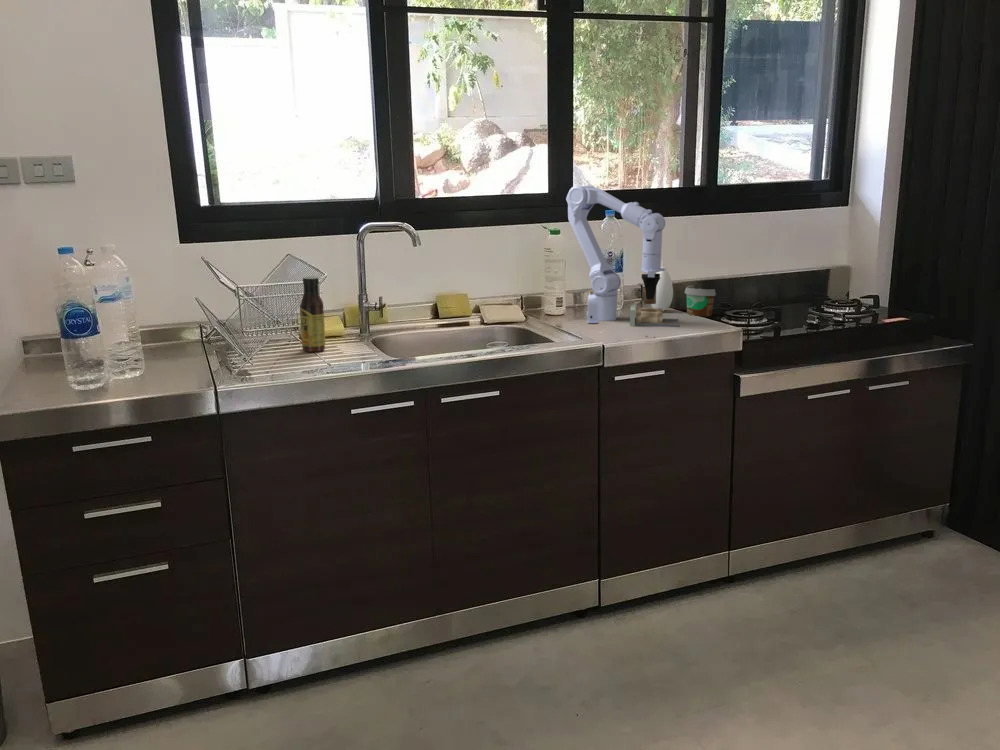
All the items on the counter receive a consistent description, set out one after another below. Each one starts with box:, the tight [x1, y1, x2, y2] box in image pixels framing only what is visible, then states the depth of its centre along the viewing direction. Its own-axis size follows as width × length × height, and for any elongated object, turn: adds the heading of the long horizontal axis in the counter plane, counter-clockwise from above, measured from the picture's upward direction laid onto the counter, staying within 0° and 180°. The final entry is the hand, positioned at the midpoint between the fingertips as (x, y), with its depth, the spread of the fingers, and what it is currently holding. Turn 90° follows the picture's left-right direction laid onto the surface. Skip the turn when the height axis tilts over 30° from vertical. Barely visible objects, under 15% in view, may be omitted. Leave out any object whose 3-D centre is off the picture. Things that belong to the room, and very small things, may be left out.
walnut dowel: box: [643, 286, 657, 305], centre depth 257 cm, size 4×4×7 cm
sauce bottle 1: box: [299, 276, 326, 353], centre depth 222 cm, size 6×6×20 cm
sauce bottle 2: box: [650, 259, 674, 310], centre depth 284 cm, size 8×8×18 cm
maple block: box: [635, 307, 664, 324], centre depth 258 cm, size 8×8×4 cm
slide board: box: [629, 303, 680, 328], centre depth 258 cm, size 15×12×6 cm
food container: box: [684, 284, 717, 317], centre depth 274 cm, size 12×6×10 cm, turn 25°
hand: (649, 298), depth 257 cm, fingers closed on walnut dowel, 4 cm apart
